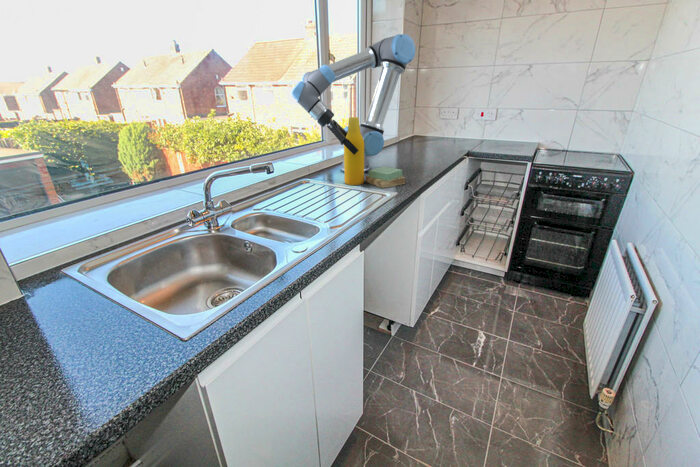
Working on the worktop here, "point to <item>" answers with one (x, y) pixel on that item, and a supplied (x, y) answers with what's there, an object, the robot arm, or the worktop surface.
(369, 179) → the base block
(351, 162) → the beer bottle
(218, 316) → the worktop surface
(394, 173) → the top block
